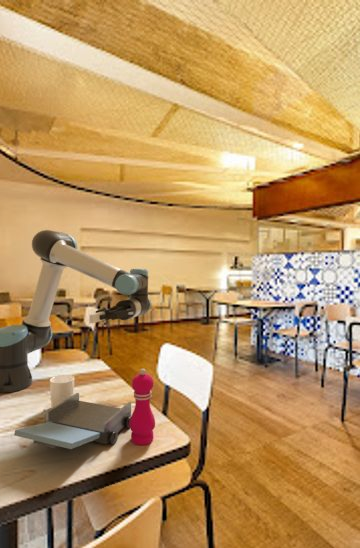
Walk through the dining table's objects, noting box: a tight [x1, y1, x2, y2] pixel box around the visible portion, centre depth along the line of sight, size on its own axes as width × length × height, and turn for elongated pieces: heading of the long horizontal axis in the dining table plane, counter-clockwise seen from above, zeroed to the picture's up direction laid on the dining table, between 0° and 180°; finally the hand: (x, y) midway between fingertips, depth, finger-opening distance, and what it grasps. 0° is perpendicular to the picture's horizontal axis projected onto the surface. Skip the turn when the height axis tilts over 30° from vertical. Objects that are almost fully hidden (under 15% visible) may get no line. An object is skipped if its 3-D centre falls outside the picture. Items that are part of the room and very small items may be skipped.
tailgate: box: [13, 421, 100, 450], centre depth 79 cm, size 17×2×12 cm
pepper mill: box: [129, 368, 156, 446], centre depth 87 cm, size 7×7×20 cm
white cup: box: [49, 374, 75, 409], centre depth 106 cm, size 8×8×10 cm
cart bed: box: [45, 392, 132, 445], centre depth 93 cm, size 22×14×6 cm, turn 71°
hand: (91, 318), depth 98 cm, fingers closed
